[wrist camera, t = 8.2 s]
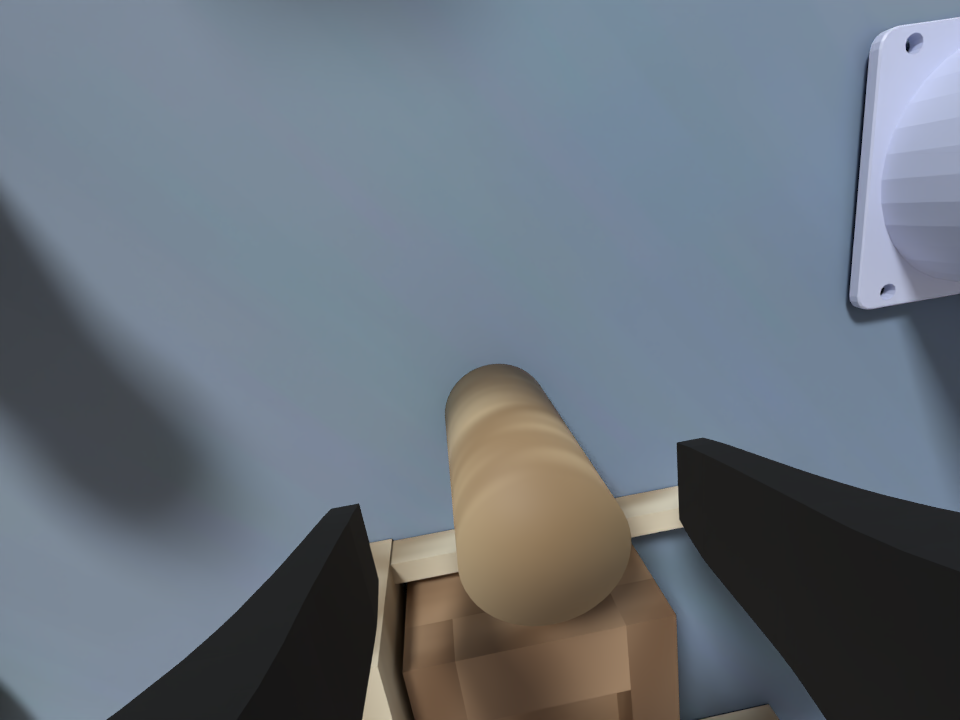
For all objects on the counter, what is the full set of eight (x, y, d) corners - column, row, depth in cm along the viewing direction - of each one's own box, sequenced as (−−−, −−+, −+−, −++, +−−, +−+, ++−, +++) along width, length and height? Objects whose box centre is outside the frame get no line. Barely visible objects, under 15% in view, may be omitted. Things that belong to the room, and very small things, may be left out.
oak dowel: (540, 355, 15) (626, 461, 9) (551, 449, 16) (635, 607, 10) (436, 373, 15) (443, 495, 9) (454, 467, 16) (472, 641, 10)
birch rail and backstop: (778, 464, 18) (909, 556, 13) (768, 719, 21) (865, 862, 17) (334, 549, 17) (297, 682, 12) (407, 799, 21) (400, 975, 16)
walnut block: (622, 529, 18) (676, 615, 14) (636, 723, 21) (683, 838, 17) (408, 572, 17) (402, 672, 13) (453, 763, 20) (459, 890, 16)
